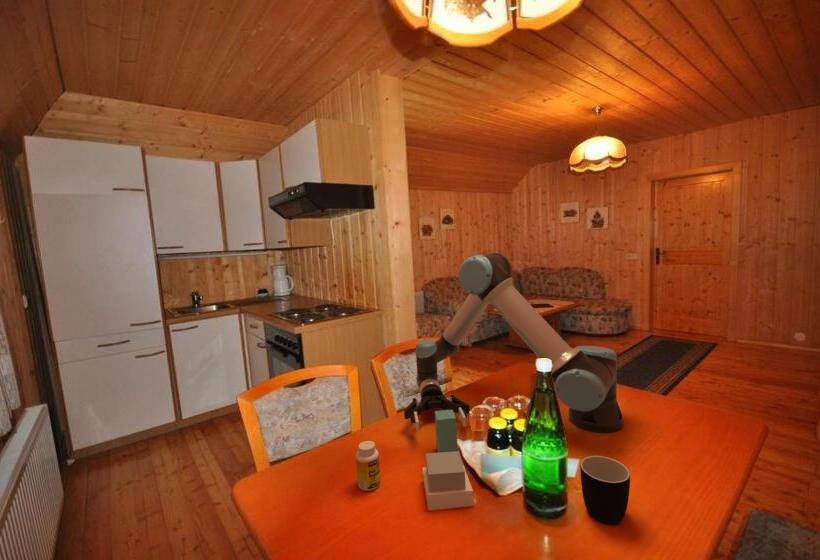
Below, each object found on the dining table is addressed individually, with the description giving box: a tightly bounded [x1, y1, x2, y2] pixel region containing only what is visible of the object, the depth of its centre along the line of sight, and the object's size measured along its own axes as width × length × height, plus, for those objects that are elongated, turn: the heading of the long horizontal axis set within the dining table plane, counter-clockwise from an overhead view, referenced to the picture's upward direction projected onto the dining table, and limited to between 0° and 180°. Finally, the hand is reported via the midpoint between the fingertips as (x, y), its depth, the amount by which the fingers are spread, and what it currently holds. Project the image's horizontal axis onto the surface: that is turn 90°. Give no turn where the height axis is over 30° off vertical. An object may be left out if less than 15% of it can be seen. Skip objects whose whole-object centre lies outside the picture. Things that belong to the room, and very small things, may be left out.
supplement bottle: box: [355, 440, 381, 492], centre depth 89 cm, size 6×6×10 cm
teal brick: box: [434, 409, 459, 453], centre depth 101 cm, size 5×5×11 cm
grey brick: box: [425, 450, 466, 492], centre depth 85 cm, size 8×8×4 cm
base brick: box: [422, 464, 474, 512], centre depth 85 cm, size 10×10×4 cm
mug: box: [580, 455, 631, 526], centre depth 77 cm, size 12×9×10 cm
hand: (441, 424), depth 105 cm, fingers open, 13 cm apart
